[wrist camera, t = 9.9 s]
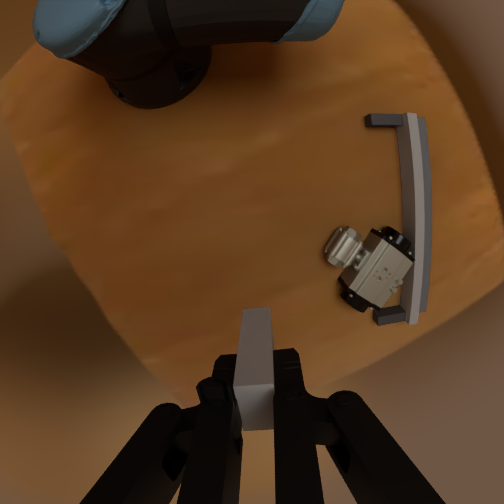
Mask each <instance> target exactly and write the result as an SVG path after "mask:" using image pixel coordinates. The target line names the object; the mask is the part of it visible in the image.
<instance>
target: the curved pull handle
mask: <svg viewBox="0 0 504 504" xmlns="http://www.w3.org/2000/svg"><path fill="white" fill-rule="evenodd" d="M364 117H365V124H366V127H396V131H397V139H398V148H399V158H400V170H401V184H402V205H403V236H404V237H405V238H407V239H408V240H409V241H410V242H411V246H410V247H409V249H408V250H407V252H408V251H410V252H411V253H412V254H411V256H412V257H414V258H415V261H414V262H413V264H412V265H411V267H410V268H409V270H408V271H407V273H406V274H405V276H404V277H403V279H402V280H403V284H402V285H401V298H400V305H398V306H393V307H387V308H381V310H380V311H379V312H378V311H377V310H373V320H374V321H375V322H376V324H377V325H378V326H380V325H386V324H391V323H396V322H401V321H406V322H407V323H408V324H409V325H412V324H417V323H418V315H419V313H420V312H424V311H426V306H427V298H428V288H429V277H430V264H431V245H432V190H431V171H430V158H429V147H428V138H427V130H426V122H425V118H424V117H417V114H416V113H405V114H369V115H366V116H364Z"/></svg>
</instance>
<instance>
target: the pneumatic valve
mask: <svg viewBox="0 0 504 504" xmlns="http://www.w3.org/2000/svg"><path fill="white" fill-rule="evenodd" d="M360 238H361V235H360V234H359V233H358V232H356V231H355V230H353V229H352V228H350V227H349V226H346V227H345V229H344V230H343V229H342V228H340V227H339V228H337V229H336V231H335V232H334V234H333V236H332V237H331V239H330V240H329V242H328V243H327V245H326V246H325V250H324V251H325V253H328V252H329V253H328V255H327V256H326V260H327V261H328V262H330V263H331V264H332V265H334V266H335V267H337V268H341V266H342V265H343V267H344V268H345V270H344V271H343V272H342V274H341V275H340V277H339V278H338V280H339V282H340V283H341V285H342V286H343V287H344V290H343V291H342V293H341V294H340V296H341V297H342V299H343V300H344V301H345V302H347V303H348V304H349V305H350V306H352V307H353V308H354V309H356V310H358V311H360V312H362V313H364V312H365V310H366V309H367V308H368V307H369V308H370V309H371V310H373V309H375V310H377V311H378V312H379V311H380V310H381V308H382V307H383V305H384V304H385V303H386V301H387V300H388V299H389V297H390V296H391V295H392V293H396V292H397V288H396V287H397V286H398V285H402V284H403V280H402V279H403V277H404V276H405V274H406V273H407V271H408V270H409V268H410V267H411V265H412V264H413V262H414V261H415V258H414V257H412V256H411V254H412V253H411V252H410V251H408V252H407V250H408V249H409V247H410V246H411V242H410V241H409V240H408V239H407V238H405V237H404V236H403V235H402V234H400V233H399V232H397V231H396V230H394V229H393V228H391V227H389V226H386V228H385V229H384V231H383V233H382V232H381V231H380V230H378V231H377V230H375V229H373V228H372V229H371V231H370V232H369V234H368V235H367V237H366V238H365V240H364V241H363V243H362V242H360V241H359V239H360ZM358 241H359V242H358ZM343 263H344V264H343Z"/></svg>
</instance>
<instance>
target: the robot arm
mask: <svg viewBox="0 0 504 504" xmlns="http://www.w3.org/2000/svg"><path fill="white" fill-rule="evenodd" d="M343 3H344V0H39V1H38V3H37V6H36V9H35V12H34V17H33V32H34V36H35V38H36V40H37V41H38V43H39V44H40V45H41V46H43V47H44V48H46V49H48V50H50V51H51V52H53V53H54V55H55V56H56V57H58V58H63V59H64V58H65V59H67V60H69V61H72V62H74V63H76V64H78V65H81V66H83V67H85V68H87V69H89V70H91V71H93V72H95V73H97V74H99V75H101V76H104V78H105V80H106V82H107V84H108V85H109V87H110V89H111V91H112V92H113V93H114V94H115V95H116V96H117V97H118V98H119V99H121V100H122V101H124V102H126V103H128V104H131V105H133V106H136V107H139V108H147V109H152V108H160V107H164V106H167V105H170V104H173V103H175V102H177V101H179V100H181V99H182V98H184V97H185V96H187V95H188V94H189V93H190V92H192V91H193V90H194V89H195V88H196V87H197V85H198V84H199V83H200V82H201V80H202V79H203V77H204V76H205V74H206V72H207V70H208V67H209V64H210V60H211V45H217V44H228V43H243V42H269V43H271V44H278V43H281V42H284V41H313V40H316V39H318V38H319V37H321V36H323V35H325V34H326V33H327V32H328V31H329V30H330V29H331V28H332V26H333V25H334V23H335V22H336V20H337V18H338V16H339V14H340V11H341V9H342V6H343ZM196 390H197V393H198V396H199V399H200V404H199V405H197V406H194V407H190V408H186V409H181V408H180V407H179V406H178V405H176V404H174V403H164V404H160V405H158V406H156V407H155V408H154V409H153V410H152V411H151V412H150V414H149V415H148V416H147V418H146V419H145V420H144V421H143V423H142V424H141V425H140V427H139V428H138V430H137V431H136V432H135V433H134V435H133V436H132V437H131V439H130V440H129V441H128V442H127V444H126V445H125V446H124V447H123V449H122V450H121V451H120V453H119V454H118V455H117V457H116V458H115V459H114V460H113V462H112V463H111V464H110V466H109V467H108V468H107V469H106V471H105V472H104V473H103V474H102V476H101V477H100V478H99V480H98V481H97V482H96V483H95V485H94V486H93V487H92V488H91V490H90V491H89V492H88V493H87V495H86V496H85V497H84V499H83V500H82V501H81V502H80V504H169V503H170V502H171V500H172V498H173V496H174V495H175V493H176V491H177V489H178V488H179V486H180V484H181V487H180V491H179V496H178V500H177V504H238V503H239V490H240V476H241V461H242V446H243V439H242V434H241V430H242V428H243V431H252V430H268V429H274V449H275V493H276V494H275V497H276V504H324V499H323V491H322V485H321V477H320V471H319V464H318V457H317V451H316V444H317V445H318V444H319V445H325V446H326V448H327V450H328V452H329V454H330V456H331V458H332V459H333V461H334V463H335V465H336V467H337V468H338V470H339V472H340V474H341V476H342V477H343V479H344V481H345V483H346V484H347V486H348V488H349V490H350V491H351V493H352V495H353V497H354V498H355V500H356V502H357V504H446V503H445V502H444V501H443V500H442V498H441V497H440V496H439V495H438V493H437V492H436V491H435V490H434V488H433V487H432V486H431V485H430V483H429V482H428V481H427V480H426V478H425V477H424V476H423V475H422V474H421V472H420V471H419V470H418V468H417V467H416V466H415V465H414V464H413V462H412V461H411V460H410V459H409V457H408V456H407V455H406V453H405V452H404V451H403V450H402V448H401V447H400V446H399V445H398V443H397V442H396V441H395V440H394V438H393V437H392V436H391V435H390V433H389V432H388V431H387V430H386V428H385V427H384V426H383V425H382V423H381V422H380V421H379V420H378V418H377V417H376V416H375V414H374V413H373V412H372V411H371V409H370V408H369V407H368V406H367V405H366V403H365V402H364V401H363V399H362V398H361V397H360V396H359V395H358V394H357V393H355V392H352V391H345V390H343V391H339V392H336V393H334V394H332V395H331V396H330V397H329V398H328V399H325V398H318V397H314V396H312V395H310V394H309V393H308V392H307V391H306V389H305V386H304V381H303V375H302V369H301V364H300V358H299V353H298V352H297V351H296V350H295V349H294V348H290V349H280V350H274V341H273V332H272V323H271V313H270V307H260V308H250V309H243V313H242V321H241V329H240V337H239V344H238V352H237V354H228V355H220V356H219V357H218V359H217V360H216V361H215V364H214V370H213V373H212V377H208V378H206V379H203V380H202V381H200V382H199V383H198V385H197V386H196Z"/></svg>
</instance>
